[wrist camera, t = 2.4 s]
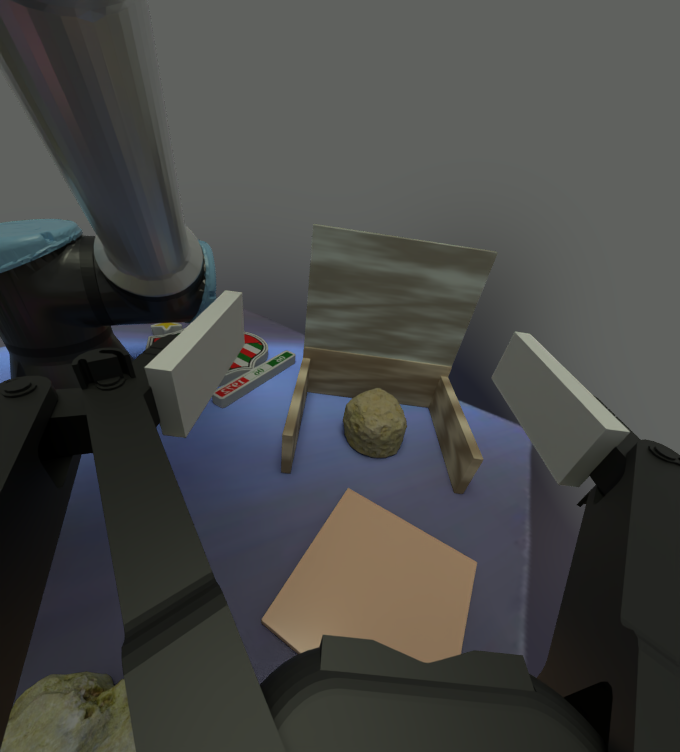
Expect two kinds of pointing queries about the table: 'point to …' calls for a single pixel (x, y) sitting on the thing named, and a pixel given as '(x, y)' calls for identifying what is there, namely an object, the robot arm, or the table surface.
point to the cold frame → (390, 330)
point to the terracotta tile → (375, 586)
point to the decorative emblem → (238, 365)
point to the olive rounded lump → (374, 423)
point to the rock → (71, 716)
